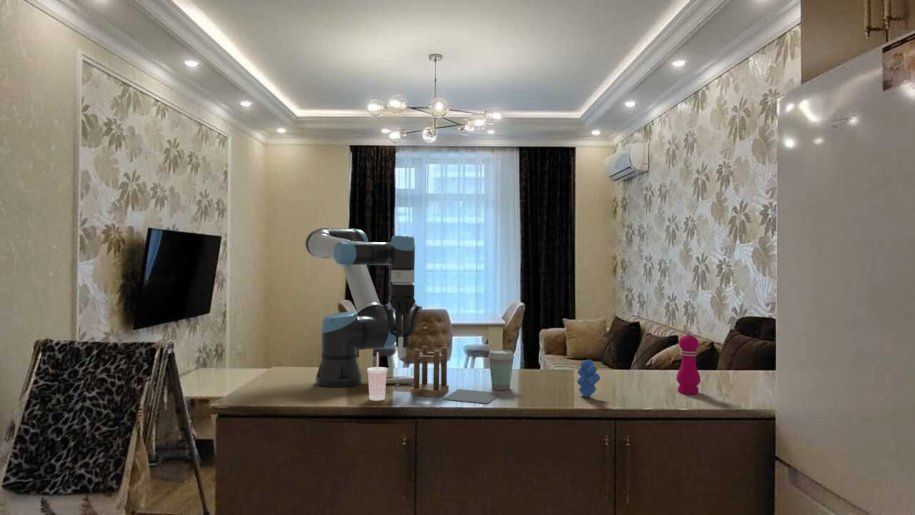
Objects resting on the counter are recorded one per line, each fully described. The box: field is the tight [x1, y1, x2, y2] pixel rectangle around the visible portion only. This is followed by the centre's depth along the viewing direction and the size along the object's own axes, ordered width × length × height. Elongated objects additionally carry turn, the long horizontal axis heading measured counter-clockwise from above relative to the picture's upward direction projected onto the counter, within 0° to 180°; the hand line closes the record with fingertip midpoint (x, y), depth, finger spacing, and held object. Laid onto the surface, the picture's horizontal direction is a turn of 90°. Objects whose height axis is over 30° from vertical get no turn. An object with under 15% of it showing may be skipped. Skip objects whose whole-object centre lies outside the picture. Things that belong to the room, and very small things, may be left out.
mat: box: [442, 388, 501, 405], centre depth 181 cm, size 14×14×1 cm
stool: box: [410, 345, 450, 398], centre depth 186 cm, size 9×9×14 cm
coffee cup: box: [487, 349, 515, 391], centre depth 194 cm, size 9×8×12 cm
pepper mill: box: [675, 330, 701, 395], centre depth 191 cm, size 7×7×20 cm
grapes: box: [576, 359, 601, 398], centre depth 182 cm, size 12×7×12 cm, turn 10°
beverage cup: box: [366, 351, 389, 401], centre depth 177 cm, size 6×6×14 cm
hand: (402, 357), depth 189 cm, fingers closed
